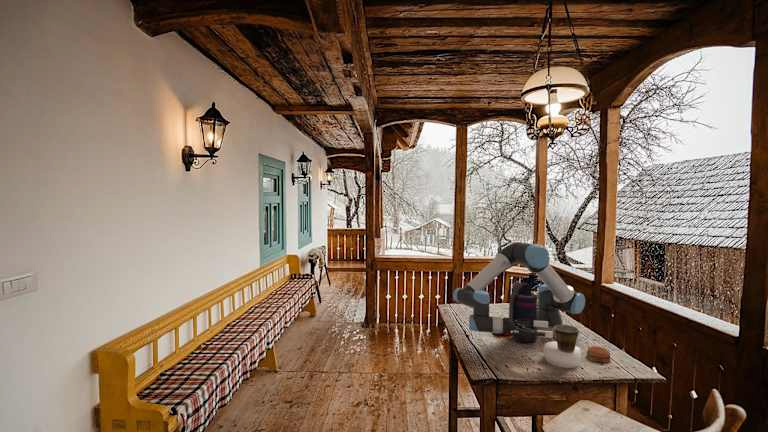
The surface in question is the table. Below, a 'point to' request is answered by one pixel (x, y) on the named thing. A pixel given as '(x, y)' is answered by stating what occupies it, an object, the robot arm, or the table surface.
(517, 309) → the grenade
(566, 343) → the ceramic cup
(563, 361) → the plinth
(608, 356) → the burger
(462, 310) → the table surface
